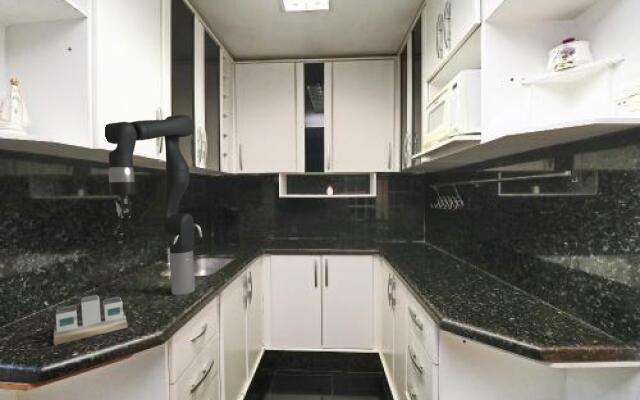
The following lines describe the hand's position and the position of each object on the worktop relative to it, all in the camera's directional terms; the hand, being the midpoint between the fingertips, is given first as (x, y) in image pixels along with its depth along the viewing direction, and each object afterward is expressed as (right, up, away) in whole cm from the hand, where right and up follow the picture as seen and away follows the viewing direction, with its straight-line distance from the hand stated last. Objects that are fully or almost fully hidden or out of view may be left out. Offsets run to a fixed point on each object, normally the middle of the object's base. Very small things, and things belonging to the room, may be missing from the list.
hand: (124, 228), depth 113 cm
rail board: (-4, -31, -11) cm, 33 cm away
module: (-4, -28, -11) cm, 30 cm away
